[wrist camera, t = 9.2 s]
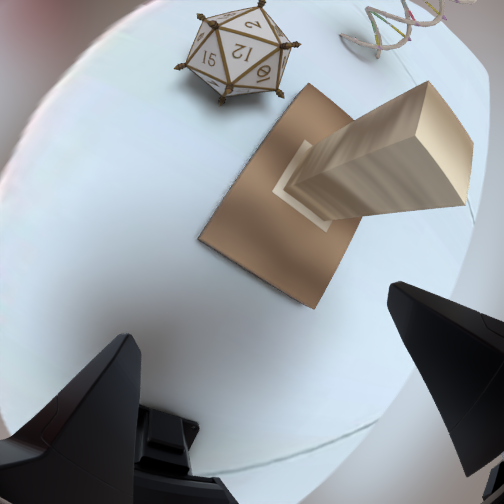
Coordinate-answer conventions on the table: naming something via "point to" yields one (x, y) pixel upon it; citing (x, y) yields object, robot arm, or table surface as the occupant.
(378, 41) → the dna model
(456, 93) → the table surface
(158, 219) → the table surface
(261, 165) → the walnut slab
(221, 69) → the game die
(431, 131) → the maple pillar
